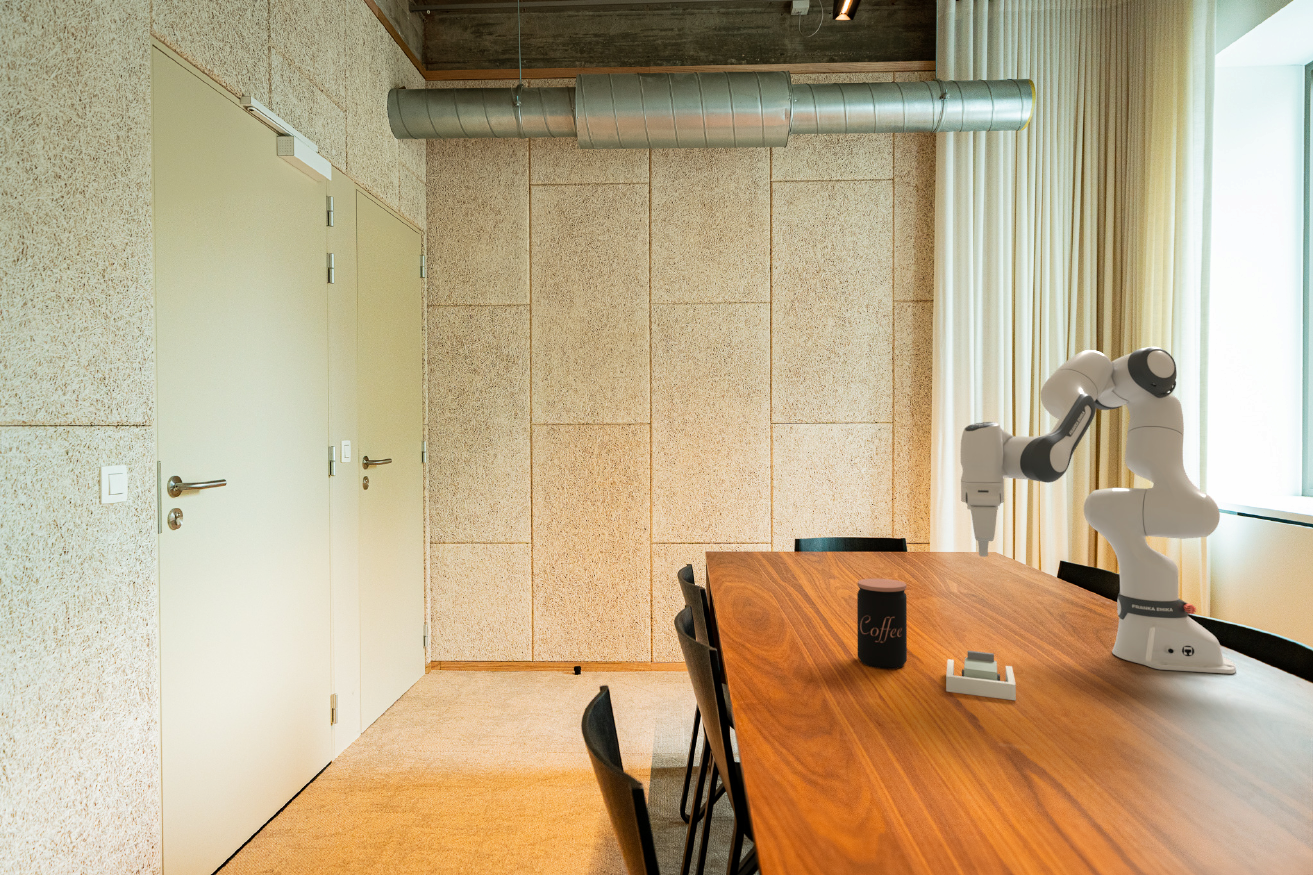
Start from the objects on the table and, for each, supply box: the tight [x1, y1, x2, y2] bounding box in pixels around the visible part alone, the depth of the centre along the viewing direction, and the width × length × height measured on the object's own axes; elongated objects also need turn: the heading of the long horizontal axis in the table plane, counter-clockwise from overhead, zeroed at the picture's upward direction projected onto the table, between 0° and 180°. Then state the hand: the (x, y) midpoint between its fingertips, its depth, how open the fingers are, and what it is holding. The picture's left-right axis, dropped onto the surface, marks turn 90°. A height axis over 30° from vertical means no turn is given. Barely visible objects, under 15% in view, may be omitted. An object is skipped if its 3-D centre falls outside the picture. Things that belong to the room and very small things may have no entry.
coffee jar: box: [856, 578, 908, 670], centre depth 159 cm, size 11×11×18 cm
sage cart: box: [961, 650, 1001, 681], centre depth 144 cm, size 7×8×6 cm
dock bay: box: [945, 658, 1017, 701], centre depth 144 cm, size 12×12×3 cm
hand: (983, 555), depth 159 cm, fingers closed
